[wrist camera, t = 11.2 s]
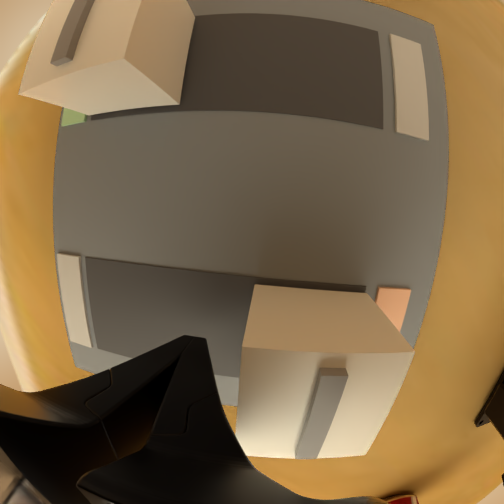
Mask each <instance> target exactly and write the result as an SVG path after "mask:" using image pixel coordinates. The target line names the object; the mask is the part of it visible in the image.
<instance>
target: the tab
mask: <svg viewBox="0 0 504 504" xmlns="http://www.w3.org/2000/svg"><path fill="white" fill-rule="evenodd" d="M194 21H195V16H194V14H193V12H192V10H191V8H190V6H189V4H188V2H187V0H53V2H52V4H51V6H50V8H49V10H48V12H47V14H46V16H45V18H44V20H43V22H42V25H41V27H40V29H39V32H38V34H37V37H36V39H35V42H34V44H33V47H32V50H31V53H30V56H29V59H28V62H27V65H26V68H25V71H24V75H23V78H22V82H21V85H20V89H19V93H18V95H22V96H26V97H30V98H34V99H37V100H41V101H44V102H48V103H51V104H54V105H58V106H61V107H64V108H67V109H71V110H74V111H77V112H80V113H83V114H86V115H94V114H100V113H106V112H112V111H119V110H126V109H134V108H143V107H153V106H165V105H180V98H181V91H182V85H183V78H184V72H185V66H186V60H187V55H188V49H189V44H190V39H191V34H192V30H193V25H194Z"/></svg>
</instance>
